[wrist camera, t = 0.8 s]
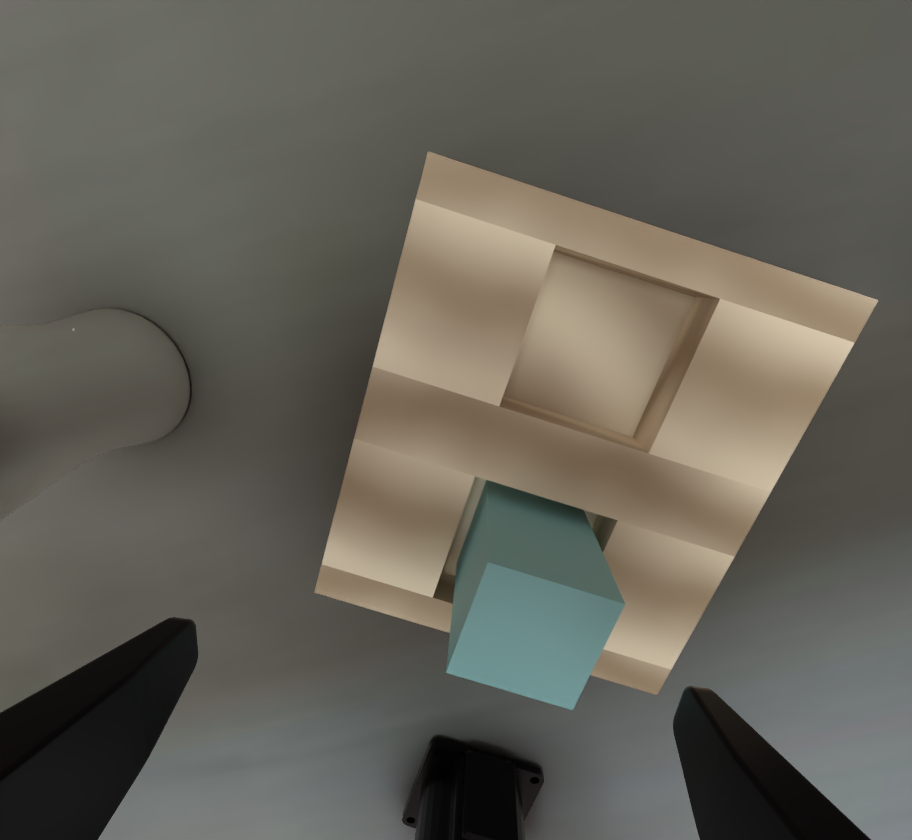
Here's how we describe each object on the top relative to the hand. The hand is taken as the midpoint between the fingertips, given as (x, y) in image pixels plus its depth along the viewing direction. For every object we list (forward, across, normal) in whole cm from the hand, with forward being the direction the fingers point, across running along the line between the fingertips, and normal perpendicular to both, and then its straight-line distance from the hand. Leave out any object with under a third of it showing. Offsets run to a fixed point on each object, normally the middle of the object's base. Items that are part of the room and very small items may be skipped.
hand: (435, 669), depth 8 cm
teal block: (+12, -3, +4) cm, 13 cm away
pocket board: (+13, -4, 0) cm, 13 cm away
